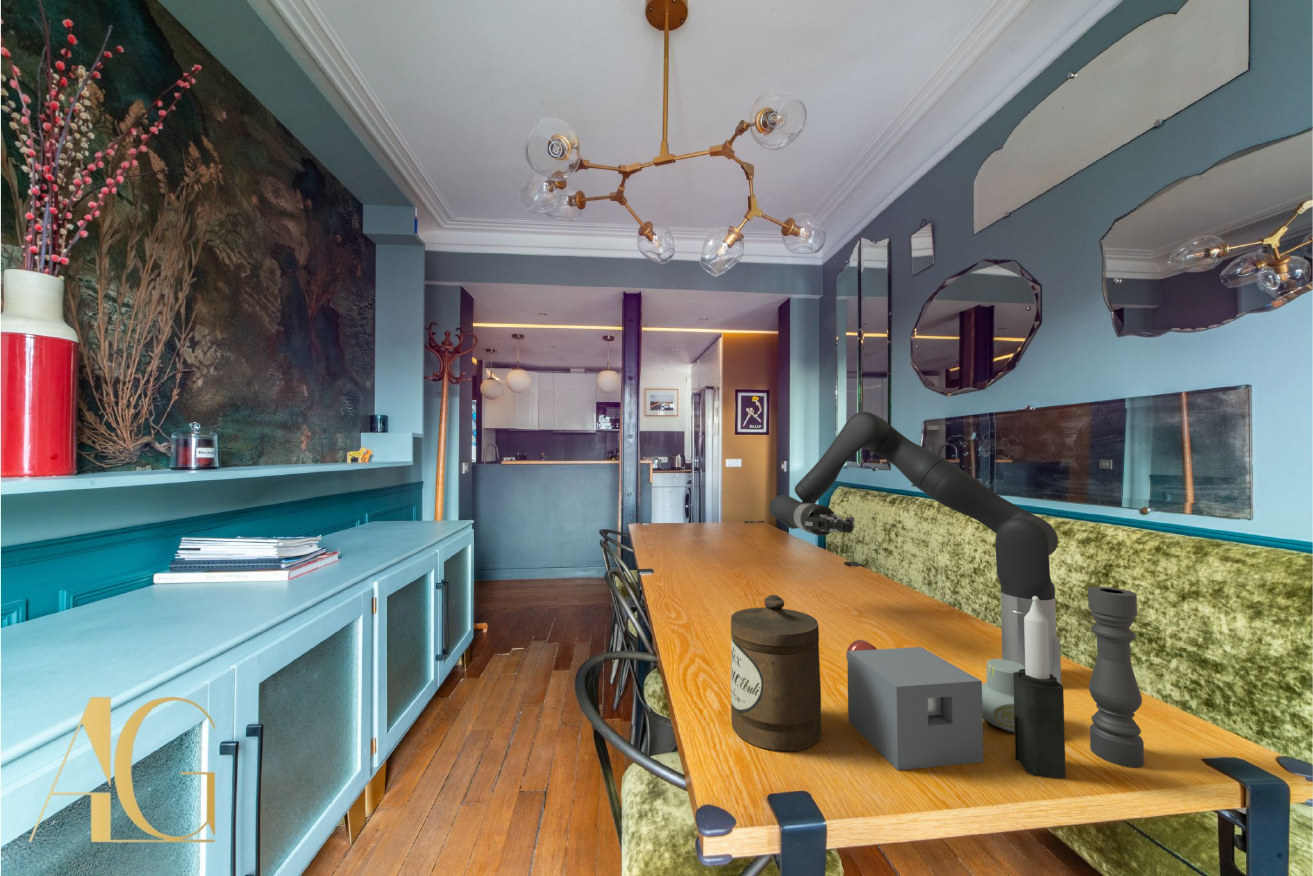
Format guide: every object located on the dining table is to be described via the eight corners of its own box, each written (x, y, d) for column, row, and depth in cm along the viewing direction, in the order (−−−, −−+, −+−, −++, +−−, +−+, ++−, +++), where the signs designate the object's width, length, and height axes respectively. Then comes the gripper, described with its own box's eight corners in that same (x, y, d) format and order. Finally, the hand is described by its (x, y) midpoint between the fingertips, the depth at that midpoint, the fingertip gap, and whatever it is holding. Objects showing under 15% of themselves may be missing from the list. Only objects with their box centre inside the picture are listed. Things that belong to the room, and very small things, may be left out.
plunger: (846, 670, 98) (846, 640, 98) (873, 668, 99) (873, 639, 99) (914, 724, 78) (913, 687, 78) (947, 721, 79) (947, 684, 79)
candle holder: (1099, 762, 78) (1095, 593, 78) (1083, 740, 83) (1079, 584, 84) (1152, 771, 75) (1147, 598, 76) (1132, 749, 81) (1127, 588, 82)
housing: (848, 721, 89) (847, 651, 90) (921, 715, 91) (920, 646, 92) (897, 770, 75) (896, 686, 76) (983, 762, 77) (981, 680, 78)
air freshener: (980, 731, 86) (978, 670, 86) (964, 708, 94) (963, 652, 94) (1056, 741, 83) (1055, 678, 84) (1034, 716, 91) (1032, 659, 91)
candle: (1069, 780, 73) (1064, 601, 74) (1028, 775, 74) (1024, 599, 75) (1049, 759, 78) (1045, 592, 79) (1012, 755, 79) (1008, 590, 80)
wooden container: (726, 705, 95) (726, 585, 96) (808, 707, 94) (807, 585, 95) (736, 751, 80) (736, 608, 81) (833, 753, 80) (831, 609, 80)
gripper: (789, 504, 130) (820, 511, 113) (838, 503, 132) (876, 510, 115) (789, 534, 130) (821, 545, 113) (838, 532, 132) (877, 544, 115)
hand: (849, 528), depth 114 cm, fingers closed
